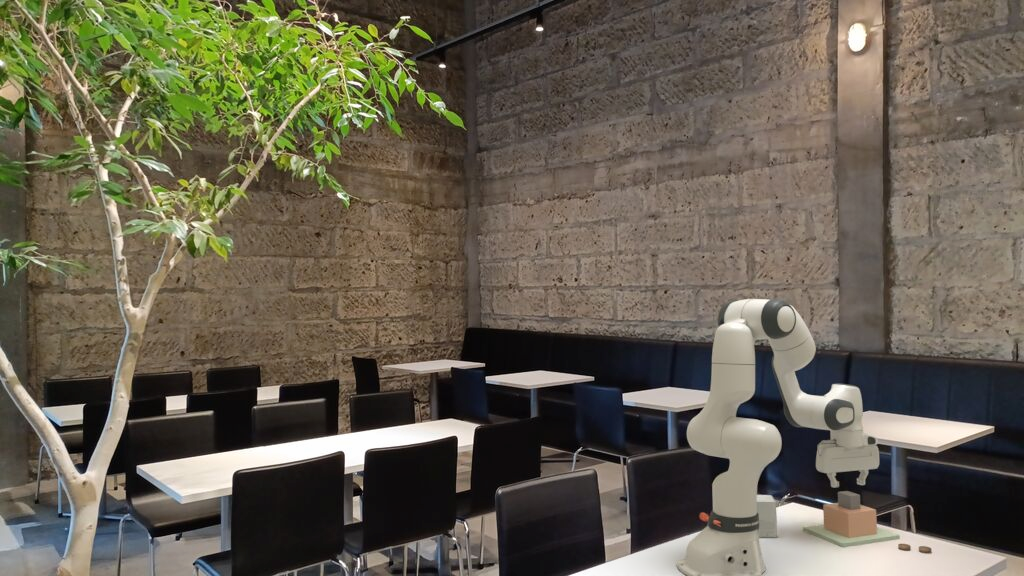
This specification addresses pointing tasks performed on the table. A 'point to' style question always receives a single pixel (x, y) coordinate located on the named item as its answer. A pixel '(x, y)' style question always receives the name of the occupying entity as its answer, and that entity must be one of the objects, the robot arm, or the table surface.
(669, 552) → the table surface
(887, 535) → the sage board
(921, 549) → the token
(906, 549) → the token
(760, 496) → the small box
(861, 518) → the peach base with post
